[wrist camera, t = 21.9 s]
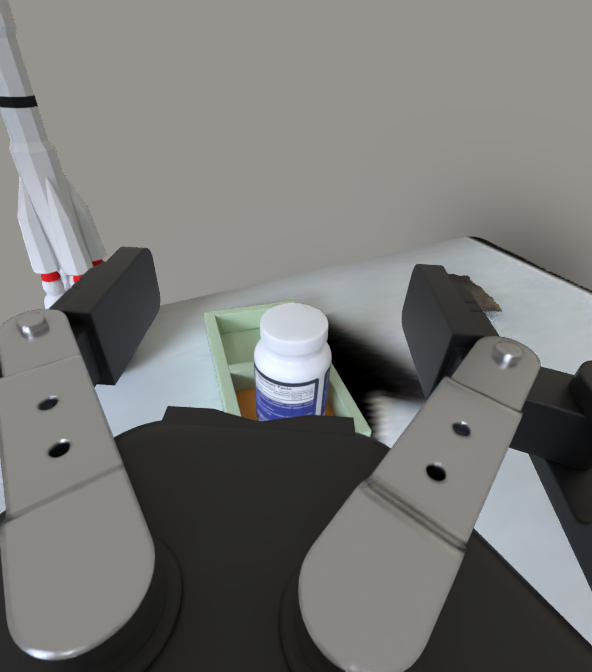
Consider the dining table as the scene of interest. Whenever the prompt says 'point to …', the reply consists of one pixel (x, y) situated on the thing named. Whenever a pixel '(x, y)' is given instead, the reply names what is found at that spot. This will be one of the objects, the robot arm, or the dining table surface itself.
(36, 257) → the rocket model
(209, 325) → the holder
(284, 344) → the pill bottle
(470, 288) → the arrowhead
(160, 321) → the dining table surface
